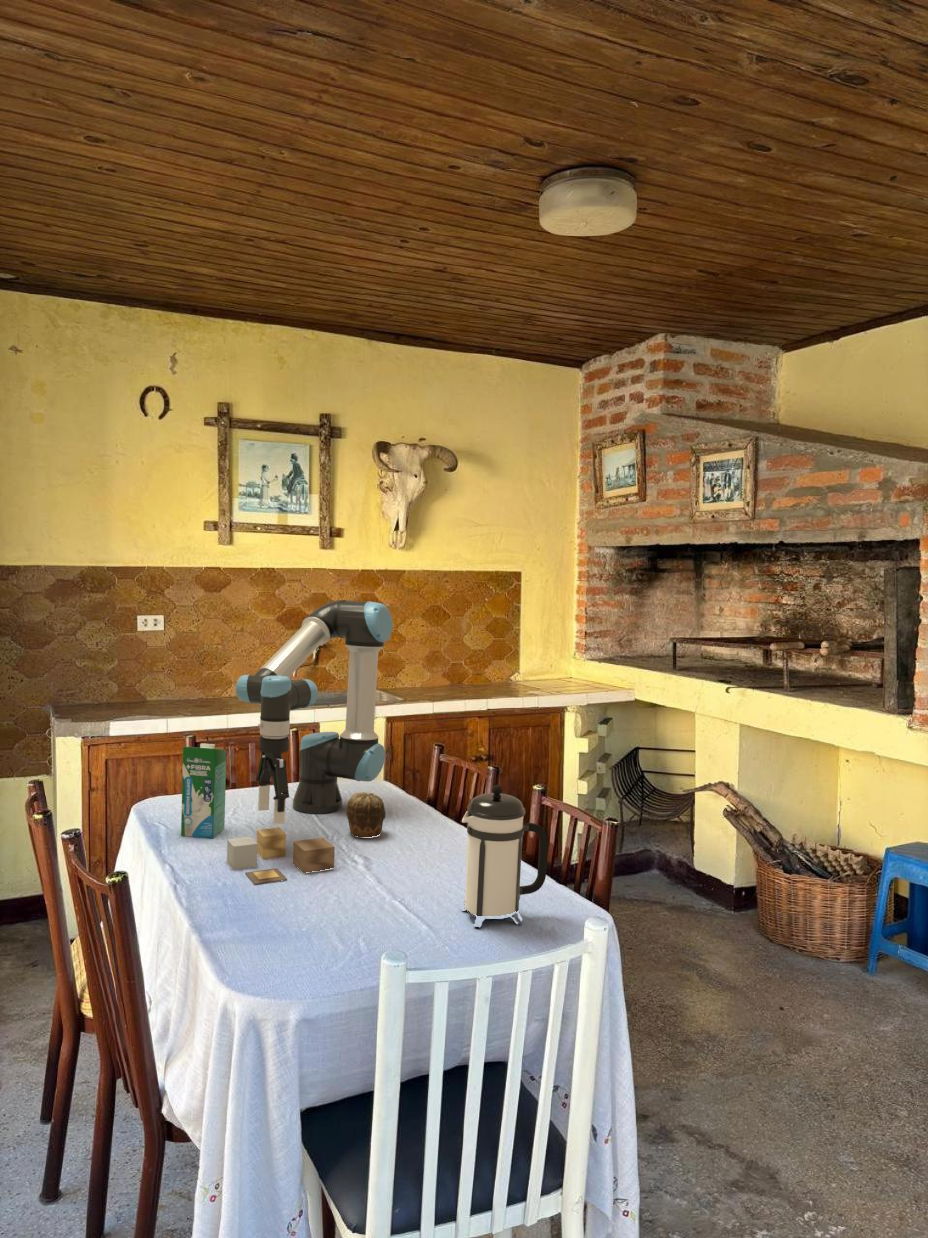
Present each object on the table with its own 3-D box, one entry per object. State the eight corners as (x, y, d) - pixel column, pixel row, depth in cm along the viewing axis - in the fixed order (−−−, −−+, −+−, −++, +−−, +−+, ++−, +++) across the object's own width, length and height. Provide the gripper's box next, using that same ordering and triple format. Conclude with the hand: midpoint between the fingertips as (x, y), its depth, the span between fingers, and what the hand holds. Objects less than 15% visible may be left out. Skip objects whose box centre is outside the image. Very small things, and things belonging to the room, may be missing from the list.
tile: (277, 869, 228) (277, 867, 228) (287, 880, 221) (287, 877, 221) (245, 874, 224) (245, 871, 224) (254, 885, 217) (254, 882, 217)
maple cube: (278, 849, 243) (279, 827, 243) (285, 856, 238) (286, 834, 238) (256, 852, 240) (256, 830, 240) (262, 859, 235) (263, 836, 235)
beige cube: (250, 859, 235) (250, 836, 234) (256, 867, 229) (257, 843, 229) (226, 862, 232) (227, 839, 231) (232, 870, 226) (233, 846, 226)
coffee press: (508, 938, 193) (515, 799, 191) (444, 920, 201) (450, 785, 199) (545, 913, 208) (552, 783, 205) (485, 896, 216) (490, 771, 214)
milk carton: (224, 829, 258) (226, 741, 257) (212, 838, 249) (214, 748, 248) (193, 826, 259) (195, 739, 257) (180, 836, 250) (182, 746, 248)
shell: (338, 837, 255) (339, 795, 254) (357, 827, 265) (358, 786, 265) (372, 843, 251) (374, 800, 250) (390, 833, 261) (392, 791, 261)
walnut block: (322, 860, 237) (323, 837, 236) (333, 870, 230) (334, 846, 229) (292, 864, 233) (293, 841, 232) (303, 874, 226) (304, 850, 225)
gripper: (246, 727, 246) (243, 805, 247) (274, 746, 224) (271, 831, 225) (273, 726, 250) (270, 803, 251) (303, 744, 228) (300, 828, 229)
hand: (271, 816), depth 238 cm, fingers open, 13 cm apart
